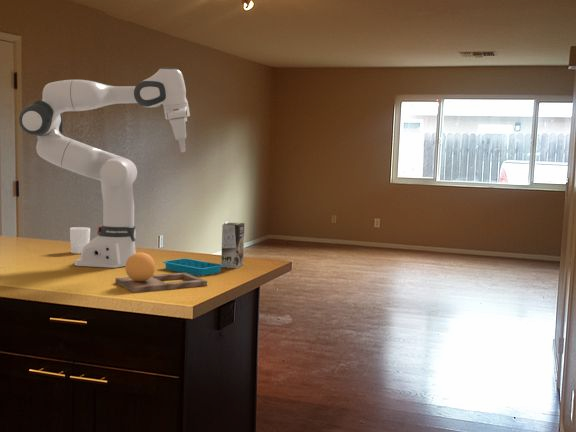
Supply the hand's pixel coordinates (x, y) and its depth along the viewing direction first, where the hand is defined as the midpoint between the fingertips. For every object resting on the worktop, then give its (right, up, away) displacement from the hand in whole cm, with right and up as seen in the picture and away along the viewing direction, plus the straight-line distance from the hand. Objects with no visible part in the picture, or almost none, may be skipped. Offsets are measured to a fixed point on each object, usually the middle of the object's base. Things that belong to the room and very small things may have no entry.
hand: (183, 151), depth 230 cm
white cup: (-47, -39, +27) cm, 66 cm away
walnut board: (-2, -45, -30) cm, 54 cm away
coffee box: (+17, -43, +7) cm, 46 cm away
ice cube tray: (+4, -44, -5) cm, 44 cm away
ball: (-8, -39, -35) cm, 53 cm away
